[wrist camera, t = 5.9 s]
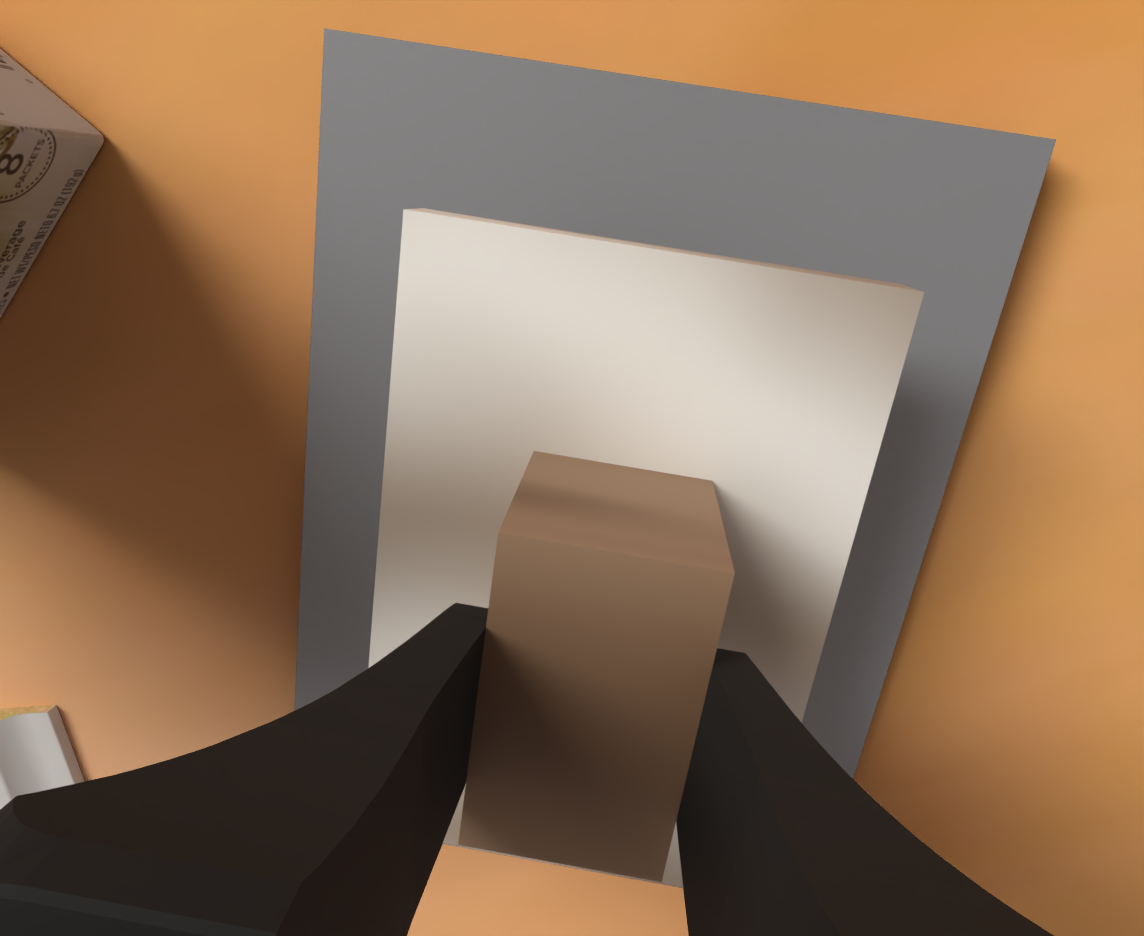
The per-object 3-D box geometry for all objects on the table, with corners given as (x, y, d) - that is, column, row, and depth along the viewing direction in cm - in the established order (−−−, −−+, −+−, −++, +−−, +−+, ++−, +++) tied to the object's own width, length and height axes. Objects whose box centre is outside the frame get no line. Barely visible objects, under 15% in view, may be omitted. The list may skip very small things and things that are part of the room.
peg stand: (1032, 142, 16) (1151, 126, 12) (812, 853, 22) (847, 990, 18) (342, 38, 17) (253, -10, 13) (306, 761, 22) (237, 876, 19)
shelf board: (743, 854, 17) (778, 1082, 13) (374, 787, 18) (283, 987, 13) (900, 284, 13) (1028, 326, 9) (423, 208, 14) (315, 213, 9)
